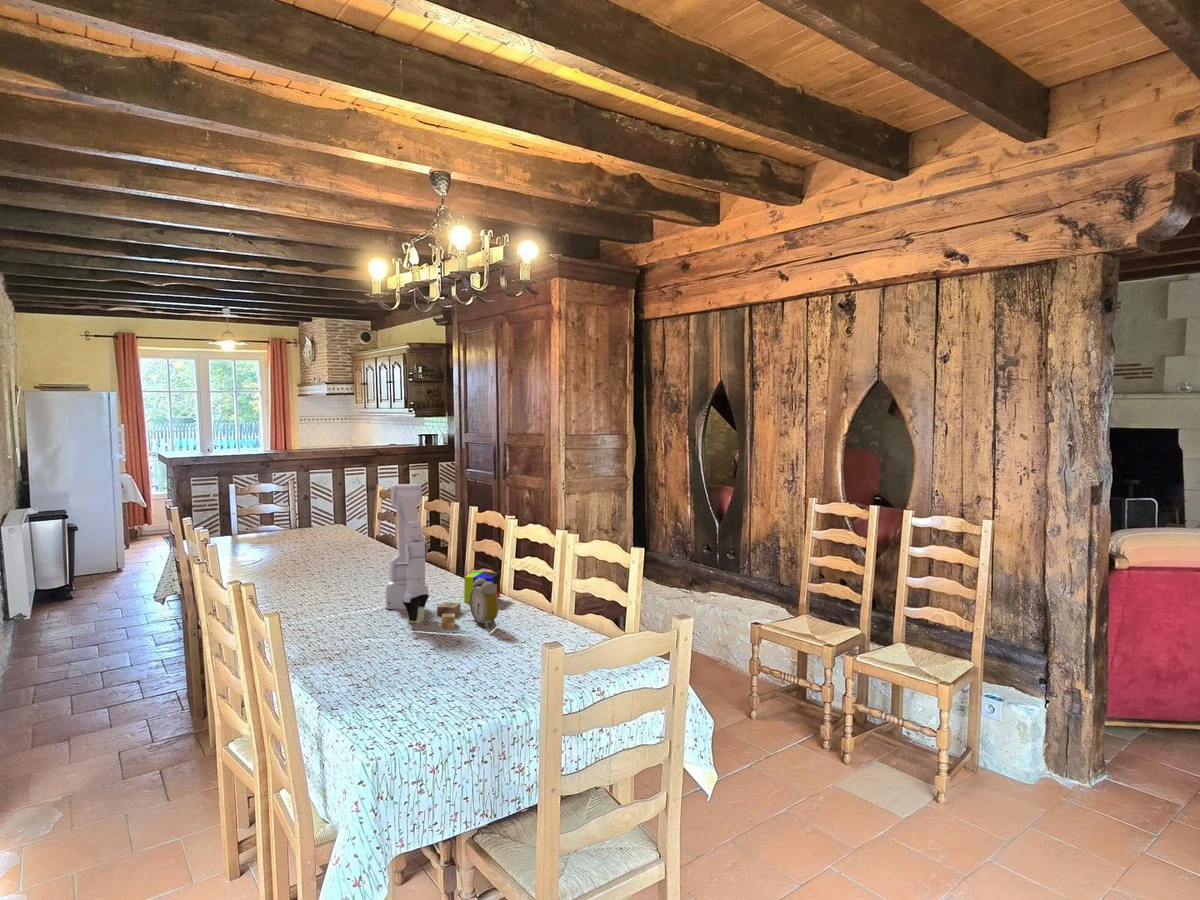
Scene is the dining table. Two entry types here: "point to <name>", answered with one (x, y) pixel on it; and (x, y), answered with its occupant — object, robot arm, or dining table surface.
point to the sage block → (418, 616)
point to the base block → (448, 608)
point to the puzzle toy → (487, 576)
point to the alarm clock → (484, 601)
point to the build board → (457, 617)
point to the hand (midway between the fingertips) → (415, 618)
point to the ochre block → (448, 620)
